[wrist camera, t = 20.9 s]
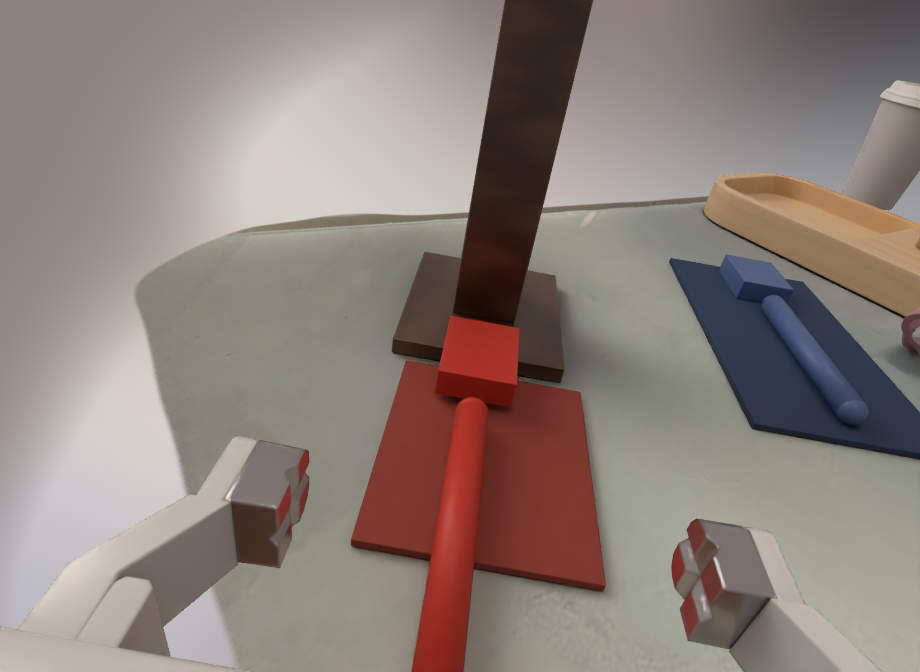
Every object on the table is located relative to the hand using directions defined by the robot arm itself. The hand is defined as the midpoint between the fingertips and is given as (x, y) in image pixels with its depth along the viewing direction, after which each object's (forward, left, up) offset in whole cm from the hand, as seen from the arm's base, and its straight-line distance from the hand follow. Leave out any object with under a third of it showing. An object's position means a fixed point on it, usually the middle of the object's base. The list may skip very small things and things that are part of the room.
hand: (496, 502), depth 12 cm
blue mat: (+22, +28, -10) cm, 37 cm away
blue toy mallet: (+22, +28, -10) cm, 37 cm away
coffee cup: (+52, +74, -10) cm, 91 cm away
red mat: (+1, +11, -10) cm, 15 cm away
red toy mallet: (0, +9, -10) cm, 13 cm away
